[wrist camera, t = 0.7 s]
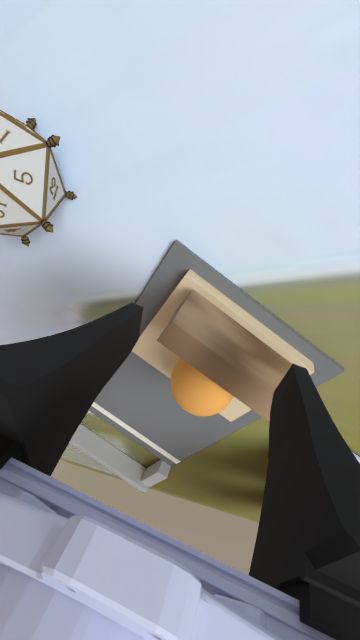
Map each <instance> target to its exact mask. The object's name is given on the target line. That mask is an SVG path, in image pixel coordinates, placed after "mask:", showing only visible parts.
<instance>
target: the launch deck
mask: <svg viewBox="0 0 360 640" xmlns="http://www.w3.org/2000/svg"><path fill="white" fill-rule="evenodd" d="M192 289H194V290H195V291H196V292H198V293H199V294H200V295H201V296H203V297H204V298H205V299H207V300H208V301H209V302H211V303H212V304H213V305H215V306H216V307H217V308H219V309H220V310H221V311H223V312H224V313H225V314H227V315H228V316H229V317H231V318H232V319H233V320H235V321H236V322H237V323H239V324H240V325H241V326H243V327H244V328H245V329H247V330H248V331H249V332H251V333H252V334H253V335H255V336H256V337H257V338H258V339H260V340H261V341H262V342H264V343H265V344H266V345H268V346H269V347H270V348H272V349H273V350H274V351H276V352H277V353H278V354H280V355H281V356H282V357H284V358H285V359H286V360H288V361H289V362H290V363H292V364H296V365H298V366H301V367H304V368H306V369H307V370H308V372H309V374H310V376H311V379H312V381H313V383H314V385H315V387H317V386H318V385H320V384H322V383H324V382H326V381H327V380H329V379H331V378H333V377H335V376H337V375H338V374H340V373H342V372H344V369H343V367H342V366H340V365H339V364H338V363H336V362H335V361H334V360H333V359H331V358H330V357H329V356H327V355H326V354H325V353H323V352H322V351H321V350H320V349H318V348H317V347H316V346H314V345H313V344H312V343H310V342H309V341H308V340H306V339H305V338H304V337H303V336H301V335H300V334H299V333H297V332H296V331H295V330H293V329H292V328H291V327H290V326H288V325H287V324H286V323H284V322H283V321H282V320H280V319H279V318H278V317H277V316H275V315H274V314H273V313H271V312H270V311H269V310H267V309H266V308H265V307H264V306H262V305H261V304H260V303H258V302H257V301H256V300H254V299H253V298H252V297H250V296H249V295H248V294H247V293H245V292H244V291H243V290H241V289H240V288H239V287H237V286H236V285H235V284H234V283H232V282H231V281H230V280H228V279H227V278H226V277H224V276H223V275H222V274H221V273H219V272H218V271H217V270H215V269H214V268H213V267H211V266H210V265H209V264H208V263H206V262H205V261H204V260H202V259H201V258H200V257H198V256H197V255H196V254H194V253H193V252H192V251H191V250H189V249H188V248H187V247H185V246H184V245H183V244H181V243H180V242H179V241H178V240H176V241H175V242H174V244H173V246H172V247H171V249H170V250H169V252H168V253H167V255H166V257H165V258H164V260H163V261H162V263H161V264H160V266H159V268H158V269H157V271H156V272H155V274H154V275H153V277H152V279H151V280H150V282H149V283H148V285H147V286H146V288H145V290H144V291H143V293H142V294H141V296H140V298H139V299H138V301H137V302H136V305H139V306H142V307H143V314H142V320H141V327H140V334H139V339H138V341H137V343H136V344H135V346H134V348H133V350H132V351H131V353H130V354H129V356H128V357H127V358H126V360H125V361H124V362H123V364H122V365H121V366H120V367H119V369H118V370H117V371H116V373H115V374H114V375H113V376H112V378H111V379H110V380H109V381H108V383H107V384H106V385H105V386H104V388H103V389H102V390H101V392H100V393H99V395H98V396H97V397H96V399H95V401H94V402H93V404H92V405H91V407H90V409H89V411H91V412H92V413H94V414H95V415H96V416H98V417H99V418H101V419H102V420H104V421H105V422H107V423H108V424H110V425H111V426H113V427H114V428H115V429H117V430H118V431H120V432H121V433H123V434H124V435H126V436H127V437H129V438H130V439H132V440H133V441H135V442H136V443H137V444H139V445H140V446H142V447H143V448H145V449H146V450H148V451H149V452H151V453H152V454H154V455H155V456H156V457H158V458H159V459H161V460H159V461H158V462H156V463H154V464H153V465H151V466H149V467H148V468H145V467H144V466H142V465H141V464H139V463H138V462H136V461H135V460H133V459H132V458H130V457H129V456H127V455H126V454H124V453H123V452H121V451H120V450H118V449H117V448H116V447H114V446H113V445H111V444H110V443H108V442H107V441H105V440H104V439H102V438H101V437H99V436H98V435H96V434H95V433H93V432H92V431H90V430H89V429H87V428H86V427H84V426H83V425H81V424H80V425H79V426H78V428H77V430H76V431H75V433H74V435H73V437H72V438H71V440H70V442H69V444H70V445H72V446H73V447H75V448H76V449H78V450H79V451H81V452H82V453H84V454H85V455H87V456H88V457H90V458H91V459H93V460H94V461H96V462H97V463H99V464H100V465H102V466H103V467H105V468H106V469H108V470H109V471H111V472H112V473H114V474H115V475H117V476H118V477H120V478H121V479H123V480H124V481H126V482H127V483H129V484H131V485H132V486H133V487H135V488H136V489H138V490H140V491H141V492H142V493H144V492H146V491H148V489H149V487H151V486H153V485H155V484H156V483H158V482H160V481H162V480H164V479H166V478H167V477H168V474H169V471H170V469H171V466H173V465H175V464H177V463H179V462H180V461H182V460H184V459H186V458H188V457H190V456H191V455H193V454H195V453H197V452H199V451H200V450H202V449H204V448H206V447H208V446H209V445H211V444H213V443H215V442H217V441H219V440H220V439H222V438H224V437H226V436H228V435H229V434H231V433H233V432H235V431H237V430H239V429H240V428H242V427H244V426H246V425H248V424H249V423H251V422H253V421H255V420H257V419H258V418H260V417H261V416H260V415H259V414H257V413H256V412H255V411H253V410H252V409H250V408H249V407H248V406H246V405H245V404H244V403H242V402H241V401H239V400H238V399H237V398H235V397H234V396H233V398H232V400H231V402H230V403H229V405H228V406H227V407H226V408H225V409H224V410H222V411H221V412H219V413H217V414H215V415H212V416H196V415H193V414H190V413H188V412H187V411H185V410H184V409H182V408H181V407H180V406H179V404H178V403H177V402H176V400H175V398H174V396H173V394H172V390H171V375H172V371H173V369H174V367H175V365H176V363H177V362H178V361H179V360H180V359H181V358H180V357H179V356H177V355H176V354H175V353H173V352H172V351H170V350H169V349H168V348H166V347H165V346H164V345H162V344H161V343H159V342H158V341H157V339H158V338H159V336H160V335H161V333H162V332H163V330H164V329H165V327H166V326H167V324H168V322H169V321H170V319H171V318H172V316H173V315H174V313H175V312H176V310H177V309H178V307H179V306H180V304H181V303H182V302H183V301H184V299H185V298H186V297H187V296H188V294H189V293H190V292H191V291H192Z"/></svg>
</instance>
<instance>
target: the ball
mask: <svg viewBox="0 0 360 640" xmlns="http://www.w3.org/2000/svg"><path fill="white" fill-rule="evenodd" d="M171 390H172V394H173V396H174V398H175V400H176V402H177V403H178V404H179V406H180V407H181V408H182V409H184V410H185V411H187V412H188V413H190V414H193V415H196V416H212V415H215V414H217V413H219V412H221V411H222V410H224V409H225V408H226V407H227V406H228V405H229V403H230V402H231V400H232V398H233V395H231V394H230V393H228V392H227V391H226V390H224V389H223V388H221V387H220V386H219V385H217V384H216V383H215V382H213V381H212V380H210V379H209V378H208V377H206V376H205V375H204V374H202V373H201V372H199V371H198V370H197V369H195V368H194V367H193V366H191V365H190V364H188V363H187V362H186V361H184V360H183V359H182V358H181V359H180V360H179V361H178V362H177V363H176V365H175V367H174V369H173V371H172V375H171Z"/></svg>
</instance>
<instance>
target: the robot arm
mask: <svg viewBox="0 0 360 640" xmlns="http://www.w3.org/2000/svg"><path fill="white" fill-rule="evenodd" d="M142 314H143V307H142V306H139V305H136V304H134V303H130V304H128V305H126V306H124V307H122V308H120V309H118V310H116V311H114V312H112V313H110V314H108V315H105V316H103V317H101V318H99V319H97V320H94V321H92V322H89V323H87V324H84V325H82V326H80V327H77V328H74V329H71V330H68V331H65V332H62V333H58V334H55V335H51V336H47V337H43V338H39V339H35V340H30V341H25V342H19V343H13V344H7V345H0V640H360V457H359V456H357V455H356V454H354V453H353V452H352V451H351V450H350V448H349V447H348V445H347V444H346V442H345V441H344V439H343V438H342V436H341V434H340V433H339V431H338V429H337V427H336V426H335V424H334V422H333V421H332V419H331V417H330V415H329V413H328V411H327V409H326V407H325V406H324V404H323V402H322V400H321V398H320V396H319V393H318V391H317V389H316V387H315V385H314V383H313V381H312V379H311V376H310V374H309V372H308V370H307V369H306V368H304V367H301V366H298V365H296V364H292V365H291V367H290V368H289V370H288V371H287V373H286V374H285V376H284V377H283V379H282V380H281V382H280V383H279V385H278V386H277V388H276V389H275V391H274V393H273V398H272V404H271V410H270V426H269V456H268V470H267V478H266V485H265V492H264V498H263V504H262V510H261V516H260V522H259V527H258V533H257V538H256V543H255V548H254V553H253V558H252V563H251V567H250V572H249V575H247V574H245V573H243V572H241V571H238V570H237V569H235V568H233V567H231V566H229V565H226V564H225V563H223V562H221V561H219V560H217V559H215V558H213V557H211V556H209V555H207V554H204V553H203V552H201V551H198V550H196V549H195V548H192V547H190V546H188V545H186V544H184V543H182V542H180V541H178V540H176V539H174V538H172V537H170V536H168V535H166V534H164V533H162V532H160V531H158V530H156V529H154V528H152V527H150V526H148V525H146V524H144V523H142V522H140V521H138V520H136V519H134V518H132V517H130V516H128V515H126V514H124V513H122V512H120V511H118V510H116V509H114V508H112V507H110V506H108V505H106V504H104V503H102V502H100V501H98V500H96V499H94V498H92V497H90V496H88V495H86V494H84V493H82V492H80V491H78V490H76V489H74V488H72V487H70V486H68V485H66V484H64V483H62V482H60V481H58V480H56V479H54V478H52V477H50V476H51V474H52V472H53V470H54V468H55V467H56V465H57V463H58V461H59V460H60V458H61V456H62V454H63V452H64V450H65V449H66V447H67V445H68V444H69V442H70V440H71V438H72V437H73V435H74V433H75V431H76V430H77V428H78V426H79V425H80V423H81V422H82V420H83V418H84V417H85V415H86V413H87V412H88V410H89V409H90V407H91V405H92V404H93V402H94V401H95V399H96V397H97V396H98V395H99V393H100V392H101V390H102V389H103V388H104V386H105V385H106V384H107V383H108V381H109V380H110V379H111V378H112V376H113V375H114V374H115V373H116V371H117V370H118V369H119V367H120V366H121V365H122V364H123V362H124V361H125V360H126V358H127V357H128V356H129V354H130V353H131V351H132V350H133V348H134V346H135V344H136V343H137V341H138V339H139V334H140V327H141V320H142ZM57 514H58V515H57Z"/></svg>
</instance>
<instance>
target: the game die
mask: <svg viewBox="0 0 360 640" xmlns="http://www.w3.org/2000/svg"><path fill="white" fill-rule="evenodd" d="M26 123H27V125H25V124H24V123H22V122H20V121H19V120H17V119H15V118H13V117H12V116H10V115H8V114H7V113H5V112H3V111H1V110H0V235H11V236H21V237H22V239H21V240H22V243H23V244H25V245H27V246H29V243H30V241H29V238H28V237H27V236H26V235H28V234H29V233H31V232H32V231H33V230H35V229H36V228H38V227H39V226H41V225H42V226H43V228H44V229H45V230H46V232H47V231H49V232H53V225H51V224H50V222H47V221H46V220H47V219H48V218H49V216H50V215H51V214H52V213H53V211H54V210H55V209H56V207H57V206H58V205H59V203H60V202H61V201H62V199H63V198H64V197H67V198H68V199H69V198H70V199H71V200H73V199H74V198H77V196H76V195H75V194H74V193H73V192H70V191H68V192H66V191H65V189H64V186H63V183H62V180H61V177H60V174H59V171H58V168H57V165H56V162H55V159H54V156H53V153H52V150H51V147H56V145H58V146H59V140H60V137H59V136H54V135H52V136H51V137H49V138H48V140H47V141H46V140H45V139H43V138H42V137H41V136H40V135H38V134H37V133H36V132H35V131H34V130H32V129H34V127H35V126H36V122H35V118H32V119H29V118H28V121H26Z"/></svg>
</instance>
